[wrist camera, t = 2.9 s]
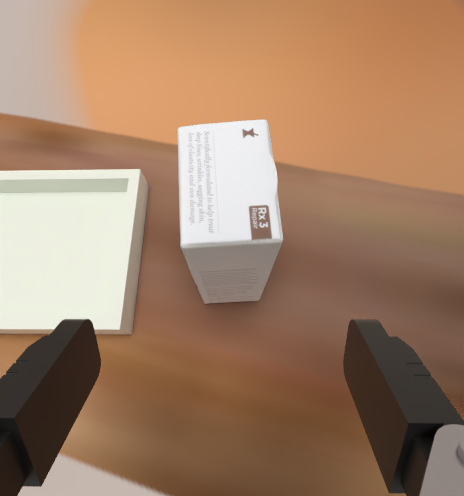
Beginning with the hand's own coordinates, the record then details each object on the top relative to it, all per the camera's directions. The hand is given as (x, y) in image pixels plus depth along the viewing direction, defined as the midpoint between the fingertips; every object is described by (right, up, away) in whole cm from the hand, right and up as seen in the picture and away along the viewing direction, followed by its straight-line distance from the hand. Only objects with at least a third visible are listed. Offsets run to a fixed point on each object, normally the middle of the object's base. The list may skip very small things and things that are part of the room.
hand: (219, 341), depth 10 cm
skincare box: (0, +1, +15) cm, 15 cm away
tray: (-14, +2, +15) cm, 21 cm away
